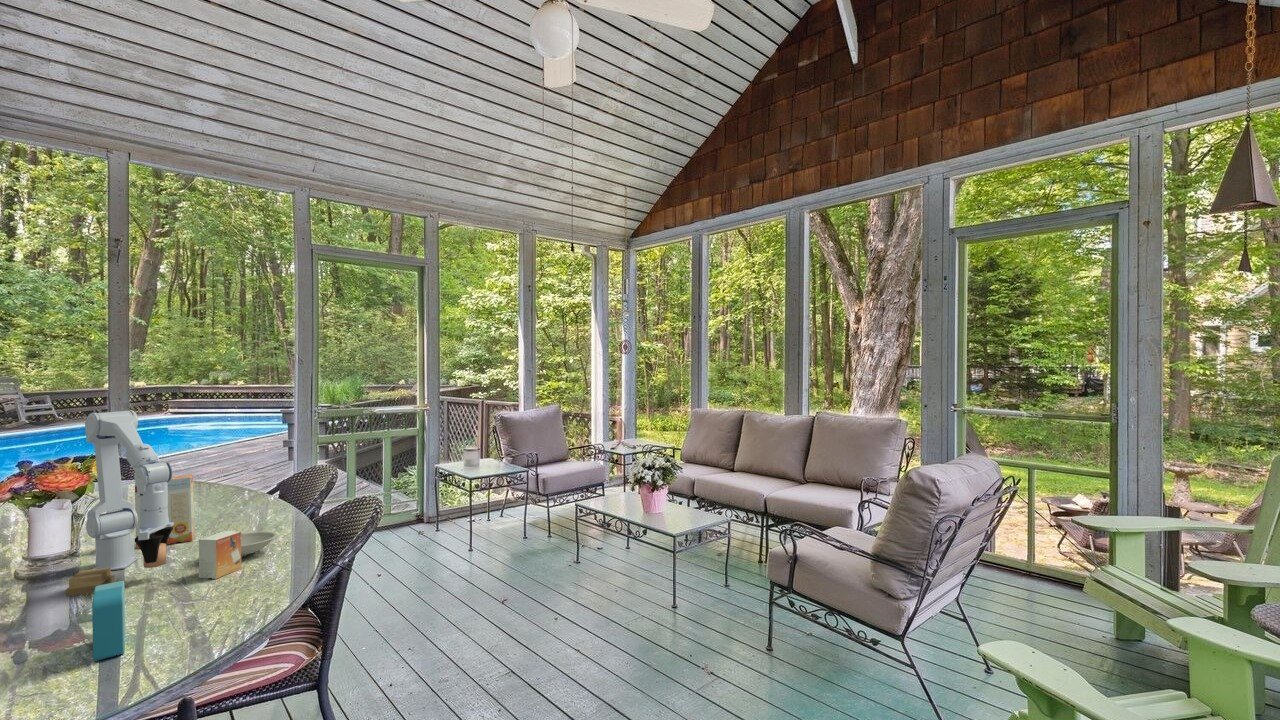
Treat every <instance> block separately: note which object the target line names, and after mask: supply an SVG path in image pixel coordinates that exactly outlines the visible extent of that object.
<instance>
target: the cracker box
mask: <svg viewBox="0 0 1280 720" xmlns="http://www.w3.org/2000/svg"><path fill="white" fill-rule="evenodd" d="M167 483H168V517H169V522H174V525H173V526H170V527H173V530H172V532H171V534H170V536H169V538H168V541H167V545H172V544H171V543H174V544H177V543H176V542H181V543H185V542H184V541H189V542H193V539H194V538H195V537H196V535H195V534H196V532H195V531H196V530H195V507H194V506H195V501H194V498H195V497H194V495H195V494H194V475H193V474H186V475H184V474H183V475H172V479H171V481H170V482H167ZM134 506H135V510H136V513H137V515H138V524H137V526H136V527H135V538H136V537H138V533H139V527H140V493H138V492H137V485H136V482H134ZM194 536H195V537H194ZM135 545H136V546H135V547H136V550H137V549H138V550H139V549H140V548H139V546H138V545H137V544H136V543H135ZM140 550H141V549H140Z"/></svg>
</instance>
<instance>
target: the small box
mask: <svg viewBox="0 0 1280 720" xmlns="http://www.w3.org/2000/svg"><path fill="white" fill-rule="evenodd" d="M241 534H242V532H241V531H234V530H233V531H232V530H224V531H221V532H218V533H215V534H213V535H212V534H211V535H209V536H206V537H203V538H200V539H198V578H199V579H208V578H212V579H211V580H217V579H219V578H222V577H224V576H227V575H229V574H232V573H234V572H237V571H240V570H242V557H241Z"/></svg>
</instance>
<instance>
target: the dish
mask: <svg viewBox="0 0 1280 720" xmlns="http://www.w3.org/2000/svg"><path fill="white" fill-rule="evenodd" d="M277 537H278V533H277V532H273V531H252V532H250V531H249V532H244V533H241V558H243V556H244V557H246V556H247V555H250V554H254V553H255V552H259V551H261V550H262V549H264V548H265V547H267V546H268V545H270V543H271V542H272V541H273V540H274V539H276V538H277Z"/></svg>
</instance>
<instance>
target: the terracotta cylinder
mask: <svg viewBox="0 0 1280 720" xmlns="http://www.w3.org/2000/svg"><path fill="white" fill-rule="evenodd" d="M142 559H143V568H146V569H151V568H152V569H153V568H157V567H161V566H163V565H165V564H166V563H167V545H166V544H165V543H160V545H159V550H158V557H157V561H156V562H154V563H145V560H144V557H143V558H142Z"/></svg>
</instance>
